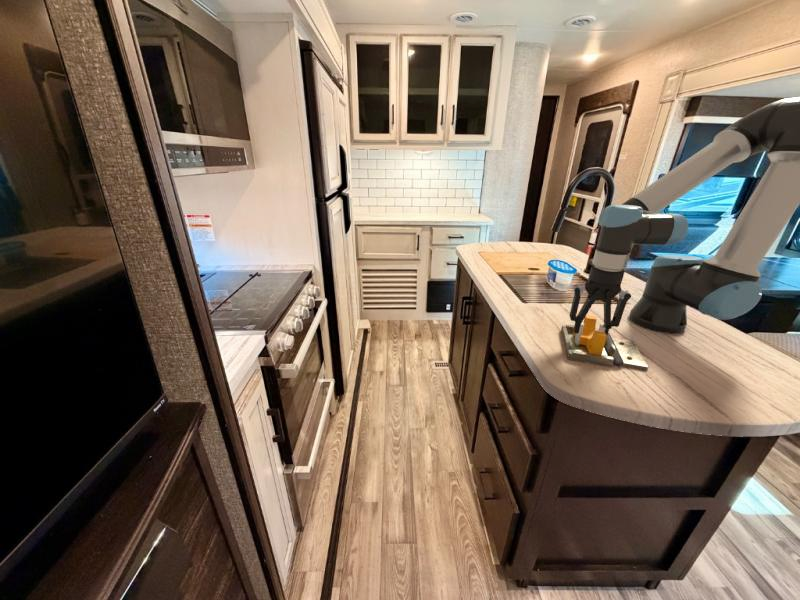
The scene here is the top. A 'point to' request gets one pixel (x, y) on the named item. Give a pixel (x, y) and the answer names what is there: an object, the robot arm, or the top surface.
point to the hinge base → (617, 348)
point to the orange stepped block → (592, 336)
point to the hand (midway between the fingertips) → (586, 343)
